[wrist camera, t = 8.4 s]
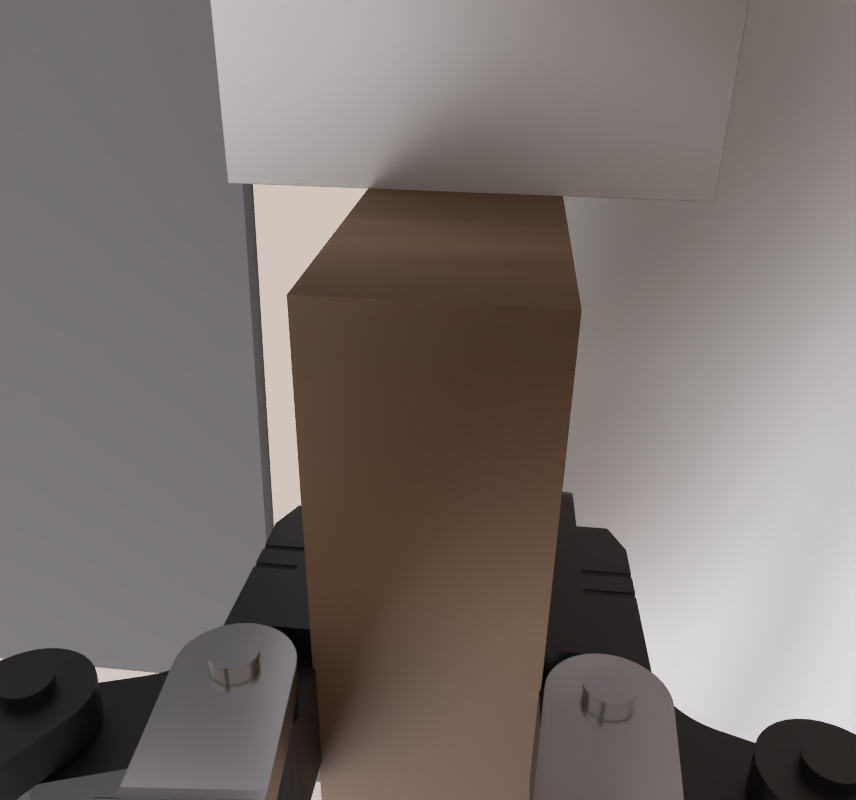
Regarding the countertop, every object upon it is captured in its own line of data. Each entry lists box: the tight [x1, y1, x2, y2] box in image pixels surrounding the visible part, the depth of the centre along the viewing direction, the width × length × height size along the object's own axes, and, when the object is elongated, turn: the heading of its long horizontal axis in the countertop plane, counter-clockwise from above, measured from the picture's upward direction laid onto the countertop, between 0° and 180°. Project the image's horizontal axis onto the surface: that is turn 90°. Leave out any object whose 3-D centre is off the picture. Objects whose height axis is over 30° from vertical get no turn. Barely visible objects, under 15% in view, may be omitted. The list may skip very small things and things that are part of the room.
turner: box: [210, 0, 749, 800], centre depth 10 cm, size 20×6×4 cm, turn 179°
